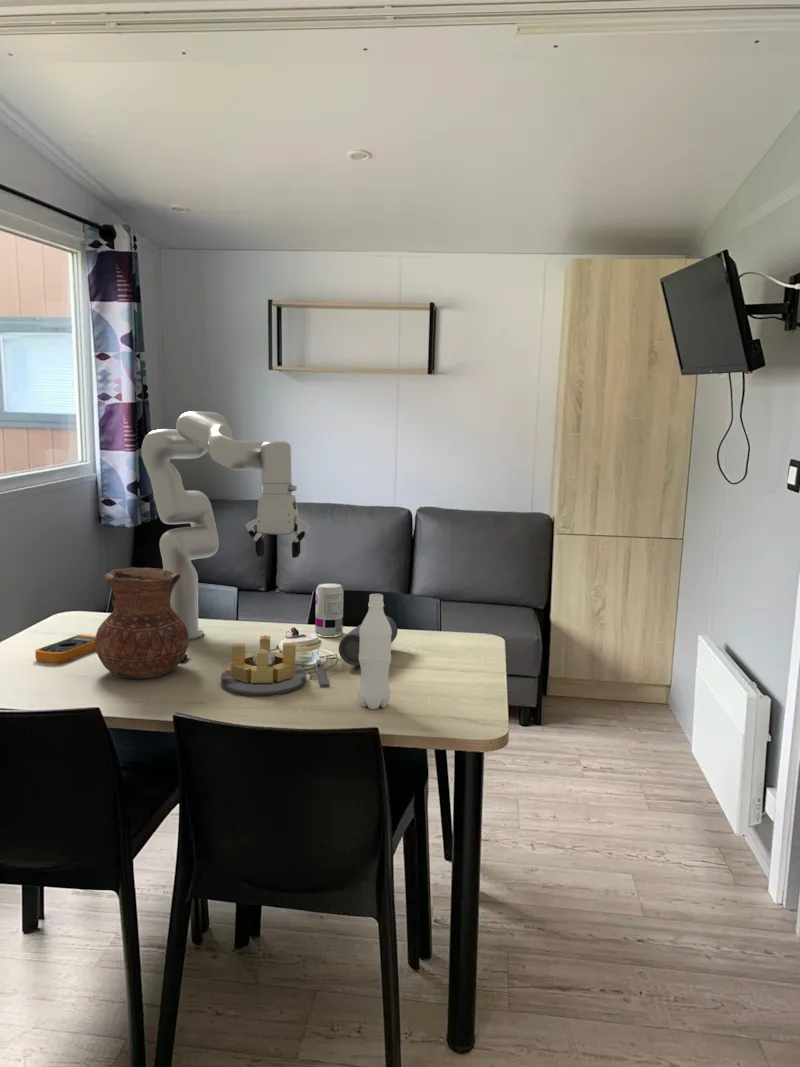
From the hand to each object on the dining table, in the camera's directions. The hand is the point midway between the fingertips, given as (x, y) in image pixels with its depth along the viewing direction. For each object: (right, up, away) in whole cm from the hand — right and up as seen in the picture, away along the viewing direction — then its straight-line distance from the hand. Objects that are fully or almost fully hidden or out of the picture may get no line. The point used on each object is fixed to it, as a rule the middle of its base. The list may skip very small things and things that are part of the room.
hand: (278, 556), depth 196 cm
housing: (-1, -30, -14) cm, 33 cm away
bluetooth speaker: (+23, -28, +9) cm, 37 cm away
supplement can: (+10, -25, +32) cm, 42 cm away
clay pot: (-32, -29, -7) cm, 44 cm away
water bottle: (+26, -33, -27) cm, 50 cm away
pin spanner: (+12, -30, -8) cm, 33 cm away
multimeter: (-56, -27, +6) cm, 62 cm away
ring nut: (-1, -27, -14) cm, 31 cm away
